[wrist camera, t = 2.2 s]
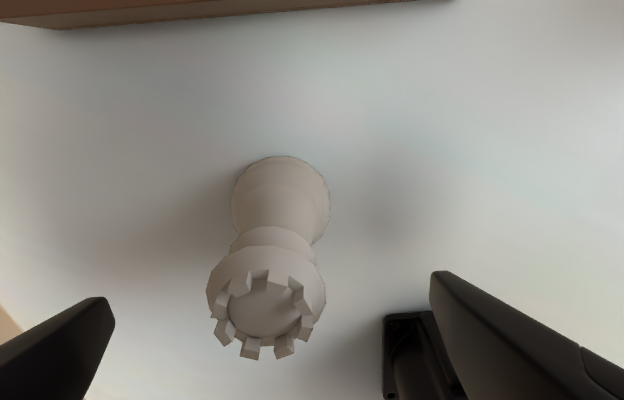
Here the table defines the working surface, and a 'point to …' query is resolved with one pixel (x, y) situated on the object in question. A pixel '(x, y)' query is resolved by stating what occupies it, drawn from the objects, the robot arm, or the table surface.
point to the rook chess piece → (271, 259)
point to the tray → (146, 10)
